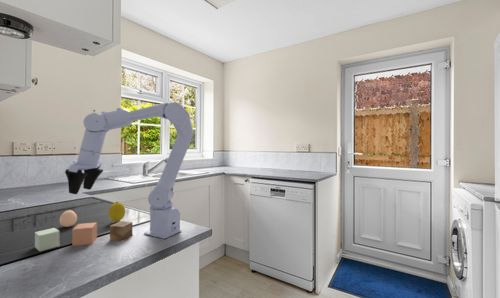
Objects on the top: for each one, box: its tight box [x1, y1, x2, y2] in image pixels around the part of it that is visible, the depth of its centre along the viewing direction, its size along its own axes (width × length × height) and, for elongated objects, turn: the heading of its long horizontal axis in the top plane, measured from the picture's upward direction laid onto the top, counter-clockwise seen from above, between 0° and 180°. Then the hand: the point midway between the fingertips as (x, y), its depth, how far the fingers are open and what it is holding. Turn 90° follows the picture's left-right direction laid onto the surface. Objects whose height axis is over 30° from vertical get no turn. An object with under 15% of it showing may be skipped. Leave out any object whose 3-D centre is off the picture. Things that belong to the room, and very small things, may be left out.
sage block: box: [34, 227, 61, 252], centre depth 69 cm, size 4×4×4 cm
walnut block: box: [109, 220, 133, 242], centre depth 76 cm, size 4×4×4 cm
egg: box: [59, 209, 78, 228], centre depth 85 cm, size 5×5×6 cm
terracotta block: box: [71, 222, 98, 247], centre depth 72 cm, size 5×5×5 cm
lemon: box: [108, 201, 126, 223], centre depth 90 cm, size 6×6×8 cm
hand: (80, 191), depth 76 cm, fingers open, 7 cm apart
